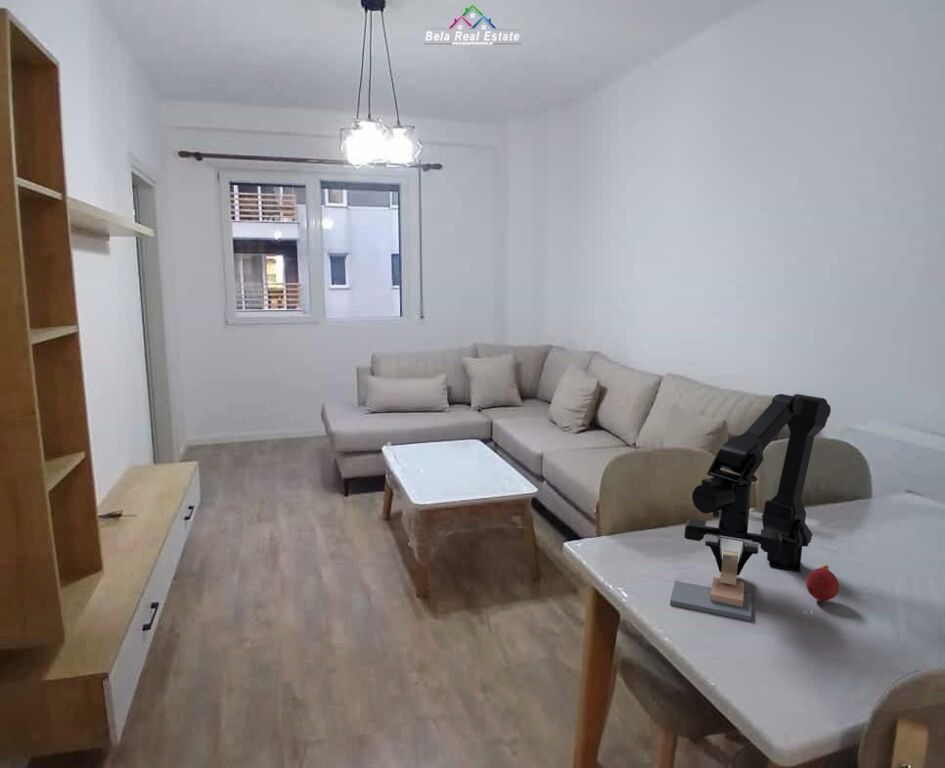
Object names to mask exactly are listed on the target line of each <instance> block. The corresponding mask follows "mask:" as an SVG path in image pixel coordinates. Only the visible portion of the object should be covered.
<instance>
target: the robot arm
mask: <svg viewBox="0 0 945 768" xmlns="http://www.w3.org/2000/svg"><path fill="white" fill-rule="evenodd" d="M831 409H832V407H831V405H830V404H829V403H828V400H827V399H825V398H824V397H819V396H811V395H805V394H801V393H795V394H793V395H791V394H786V393H785V394H784V393H779V394H775V395H774V396H773V398H772V400H771V402H770V404H769V405H768V406H767V407H766V408H765V409H764V410H763V412H762V413H761V414H760V415H759V416H758V417H757V419H756V420H754V422H753V423H752V424H751V425H750V426H749V427H748V429H746V430H745V432H743V433H742V434H738V435H735V436H733V437H731V438H729V440H727V441H726V442H724V443H723V444H722V445H721V447H719V450H718V451H717V453H716V455H715V457H714V459H713V461H712V462H711V464H710V466H709V468H708V471H707V472H706V475H707V476H710V478H709V477H705V478H702V479H701V484H698V485H697V486H696V487H695V488H694V490H693V491H692V494H691V497H692V498H691V499H692V502H693V505H694V507H695V508H696V509H697V510H698V511H699V512H701V513H703V514H711V513H712V517H713V518H717V519H718V524H717V525H718V527H714V526H707V521H706V520H703V519H697V518H689V519H687V520H686V523H685V527H684V539H686V540H689V541H690V540H691V541H696V542H701V541H702V540H703V539H704V538H705V541H704V545H705V546H707V547H709V548H710V549H711V552H712V554H713V556H714V558H715V562H716V564H717V567H718V571H719V573H721V569H722V558H723V553H722V551H723V550H722V539H727V540H732V541H739V542H742V545H741V549H740V553H739V556H738V568H737V577H738V576H740V574H741V572H742V570H743V568H744V567H745V564H747V562H748V561H749V559H750V558H751V557H752V555H757V554H759V547H760V549H761V550H762V551H763V552H764V553H766V560H767V561H768V565H769V567H771V568H777V569H783V570H788V571H793V572H794V571H795V572H802V566H801V562H802V554H803V553H802V552H803V547H809V544H811V541H812V537H813V533H812V531H811V529H810V527H808V525H807V524H806V517H807V512H806V509H805V507H804V504H803V501H802V497H803V491H804V486H805V483H806V477H807V473H808V469H809V464H810V458H811V455H812V454H811V453H812V450H813V445H814V440H815V437H816V436H817V435H818V434H820V432H821V431H822V430H823V429H824V428H825V427H826V425H827V421H828V418H829V417H830V414H831V412H832V411H831ZM786 425H787V428H788V430H789V436H788V441H787V445H786V451H785V455H784V459H783V465H782V469H781V474H780V479H779V483H778V489H777V493H776V495H774V497H772V499H770V500H769V499H768V500H766V501H765V502H764V508H763V513H762V515H761V522H762V523H761V524H762V528H761V529H760V533H755V532H754V533H753V532H748V530H749V520H750V519H749V517H750V508H751V507H750V505H751V492H752V483H755V482H757V481H758V480H759V479H758V477H757V476H756V475H755V473H756V472H757V471H758V469H759V467H760V466H761V464H762V463H763V461H764V451H765V449H766V448H767V447H768V446H769V444H770V443H771V442H772V441H773V440H774V439H775V438H776V437H777V435H778V434H779V433H780V432H781V430H783V428H785V426H786ZM722 469H723V470H722ZM732 472H733V473H732Z"/></svg>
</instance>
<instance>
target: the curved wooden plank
mask: <svg viewBox="0 0 945 768" xmlns="http://www.w3.org/2000/svg"><path fill="white" fill-rule="evenodd" d="M738 562H739V551H738V552H737V551H733V550H725V549H724V550H723V553H722V569H721V572H720V578H721V581H720V582H721V583H727V584H732V585H736V581H737V582H738V580H737V579H738V575H737V568H738Z"/></svg>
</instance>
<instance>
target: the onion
mask: <svg viewBox="0 0 945 768" xmlns="http://www.w3.org/2000/svg"><path fill="white" fill-rule="evenodd" d="M805 586H806V589H807V591H808V593H809V594H810V595H811V596H812V597H813V599H816V600H817V601H818V602H819V603H824V602H827V601H829V600H832V599H834V598H836V596H837V595H838V593H839V589H840V582H839V580H838V578H837V577H836V575H835V574H834V573H833V572H832V571H830V570H829V566H828V565H827V564H822V565H821V566H820V567H819V568H816V569H814V570H812V571H810V573H809V574H808V575H807V576H806V580H805Z"/></svg>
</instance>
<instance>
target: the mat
mask: <svg viewBox="0 0 945 768" xmlns="http://www.w3.org/2000/svg"><path fill="white" fill-rule="evenodd" d="M711 589H712V586H711V587H709V586H707V585H700V584H694V583H689V582H684V581H680V580H675V581H674V584H673V588H672V592H671V596H670V600H669V601H670V603H669V605H671V606H675V607H680V608H685V609H690V610H695V611H699V612H703V613H709V614H712V615H713V614H714V615H719V616H722V617H723V616H725V617H728V618H732V619H733V618H734V619H738V620H739V619H740V620H744V621H748V622H751V621H752V596H753V595H752V594H747V593H744V594H743V607H737V606H732V605H727V604H723V603H718V602H713V601H711V600H710V597H711Z"/></svg>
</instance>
